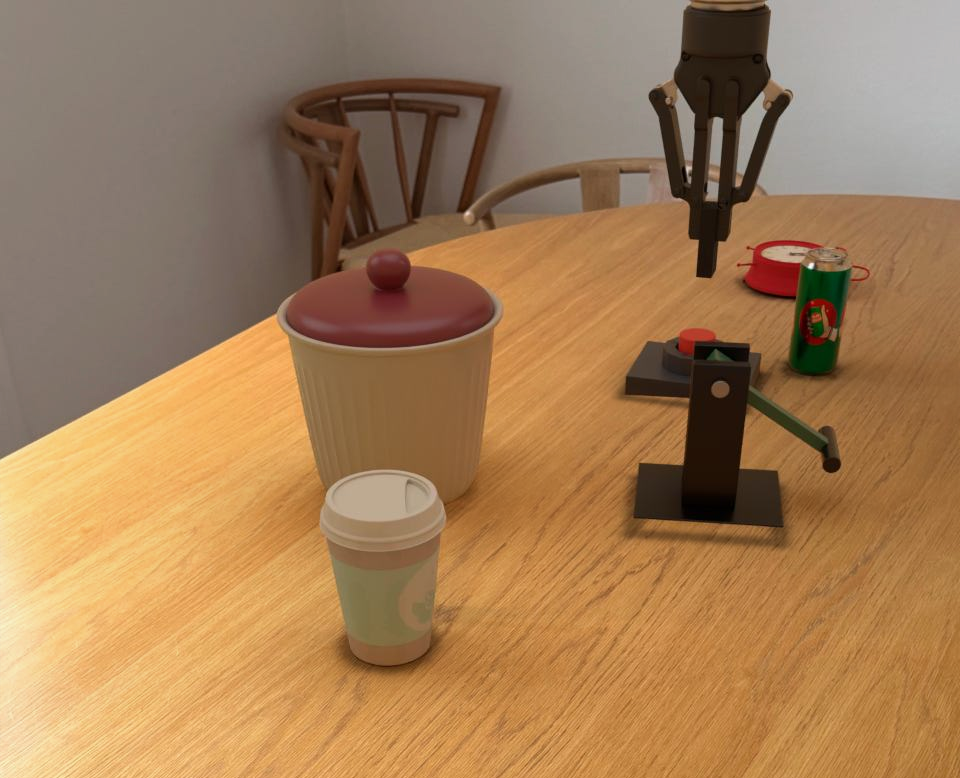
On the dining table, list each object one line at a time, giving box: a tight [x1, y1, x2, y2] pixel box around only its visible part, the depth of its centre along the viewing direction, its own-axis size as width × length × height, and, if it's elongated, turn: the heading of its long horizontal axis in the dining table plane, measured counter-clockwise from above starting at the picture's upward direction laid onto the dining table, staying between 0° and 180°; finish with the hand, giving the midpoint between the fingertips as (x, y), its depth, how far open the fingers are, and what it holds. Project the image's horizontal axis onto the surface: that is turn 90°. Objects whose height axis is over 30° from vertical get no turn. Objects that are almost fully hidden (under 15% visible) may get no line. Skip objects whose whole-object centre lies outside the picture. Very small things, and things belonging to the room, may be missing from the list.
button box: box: [624, 336, 762, 399], centre depth 127 cm, size 12×10×4 cm
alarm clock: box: [736, 239, 871, 297], centre depth 152 cm, size 10×6×15 cm
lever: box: [707, 349, 842, 474], centre depth 101 cm, size 13×6×2 cm
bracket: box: [633, 341, 784, 528], centre depth 103 cm, size 12×10×14 cm
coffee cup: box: [318, 470, 447, 667], centre depth 87 cm, size 8×8×12 cm
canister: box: [276, 247, 504, 506], centre depth 104 cm, size 18×18×21 cm
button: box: [678, 327, 717, 355], centre depth 126 cm, size 4×4×2 cm
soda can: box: [787, 247, 853, 376], centre depth 128 cm, size 5×5×12 cm
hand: (706, 273), depth 122 cm, fingers closed
